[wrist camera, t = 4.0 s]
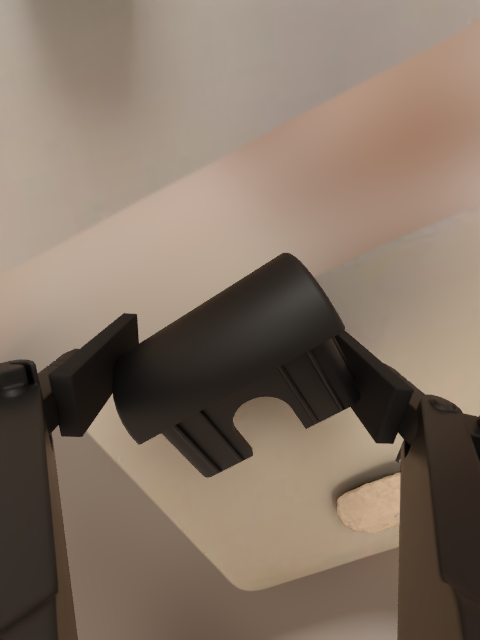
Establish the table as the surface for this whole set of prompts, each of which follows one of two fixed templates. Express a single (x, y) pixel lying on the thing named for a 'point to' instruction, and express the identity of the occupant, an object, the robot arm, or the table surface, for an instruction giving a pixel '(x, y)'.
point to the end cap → (236, 365)
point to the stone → (372, 505)
